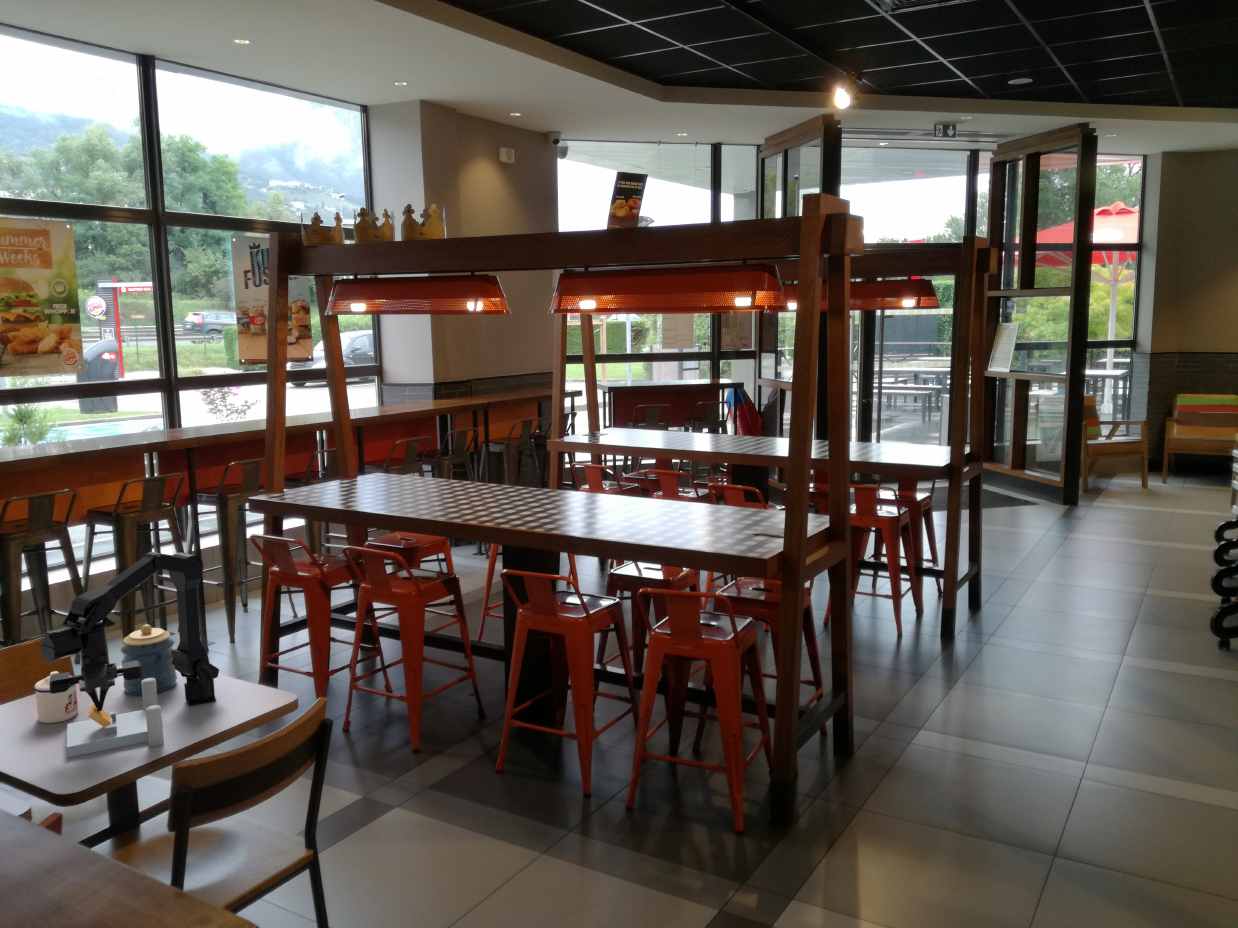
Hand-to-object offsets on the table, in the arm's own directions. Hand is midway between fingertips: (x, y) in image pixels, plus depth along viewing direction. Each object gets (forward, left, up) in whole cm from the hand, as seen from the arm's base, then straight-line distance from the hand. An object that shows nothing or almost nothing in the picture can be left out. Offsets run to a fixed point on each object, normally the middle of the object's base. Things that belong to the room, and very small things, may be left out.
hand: (100, 710), depth 216 cm
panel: (-2, 0, -7) cm, 7 cm away
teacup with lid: (+9, -21, -7) cm, 24 cm away
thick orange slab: (-2, 0, -4) cm, 4 cm away
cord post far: (-11, -10, -7) cm, 16 cm away
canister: (-12, -29, -7) cm, 32 cm away
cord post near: (-11, +9, -7) cm, 16 cm away
